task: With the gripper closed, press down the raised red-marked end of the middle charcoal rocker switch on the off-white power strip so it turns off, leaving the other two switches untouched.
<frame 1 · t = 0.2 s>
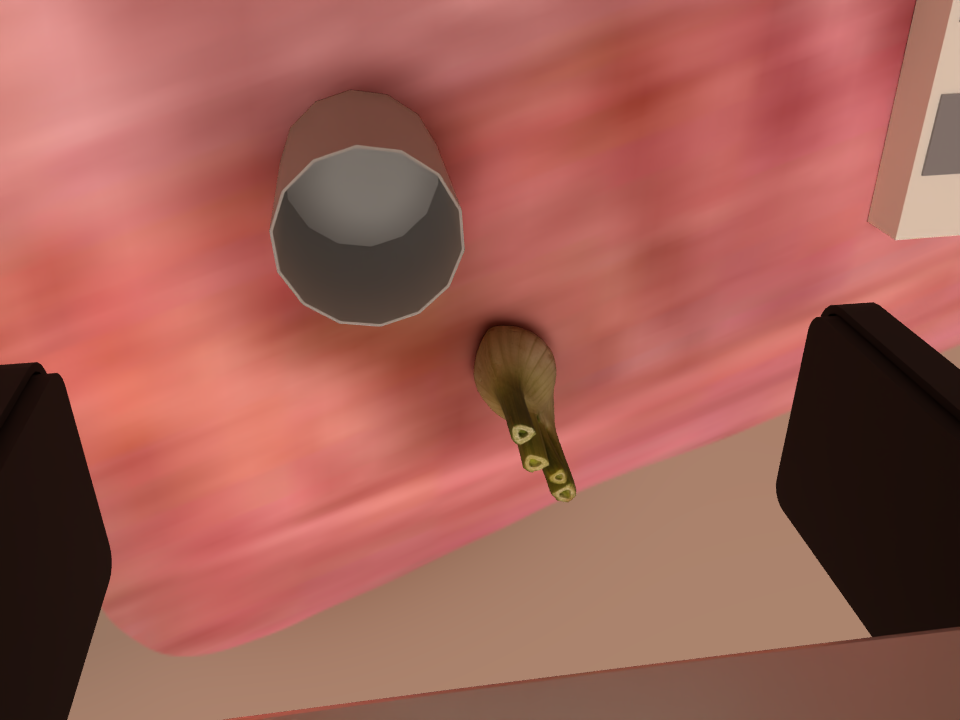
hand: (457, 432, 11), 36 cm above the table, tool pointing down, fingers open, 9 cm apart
fennel bulb: (507, 351, 53), on the table
cup: (361, 169, 46), on the table
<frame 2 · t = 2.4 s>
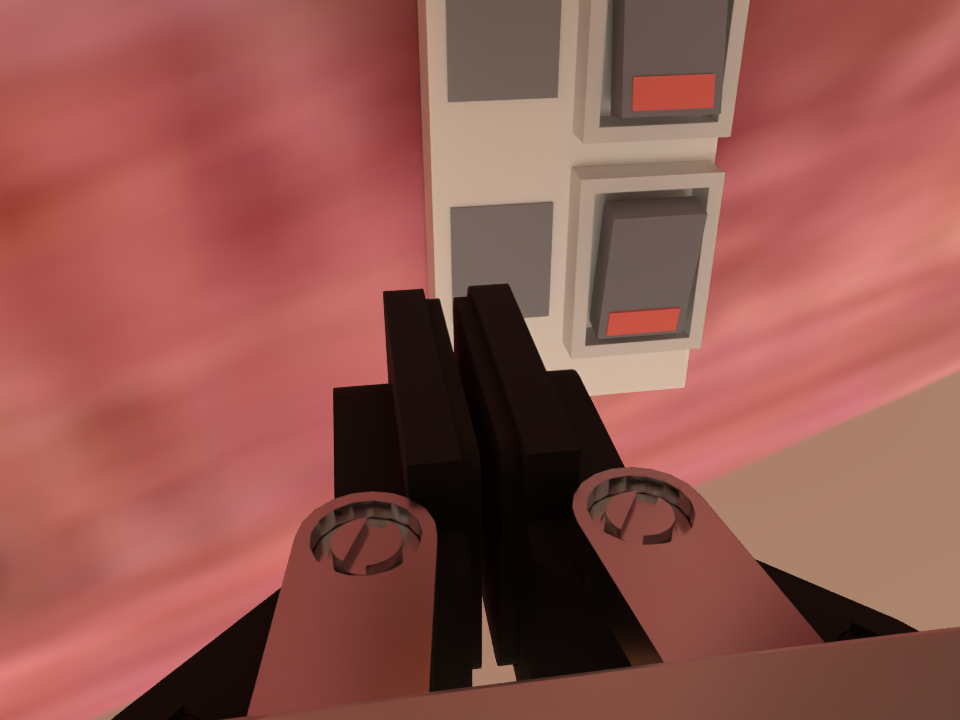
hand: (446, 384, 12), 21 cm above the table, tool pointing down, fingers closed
power strip: (561, 11, 30), on the table
rocker middle: (669, 30, 27), point 4 cm above the table, hinge at -10.0°
rocker 1: (645, 270, 31), point 4 cm above the table, hinge at 10.0°
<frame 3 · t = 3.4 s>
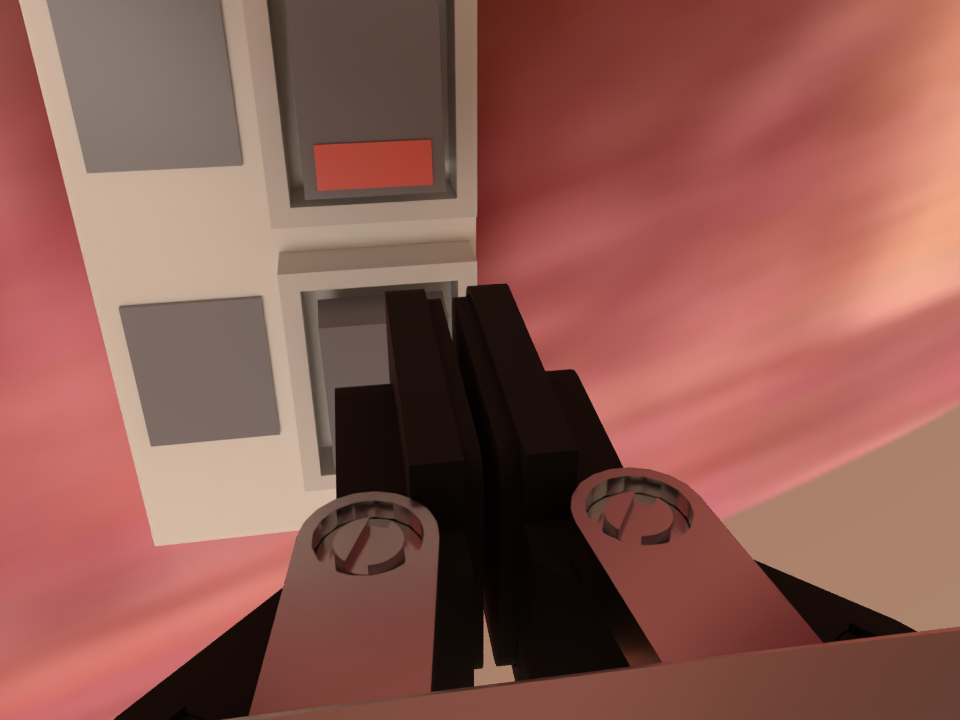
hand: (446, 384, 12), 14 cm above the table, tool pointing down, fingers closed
power strip: (269, 45, 23), on the table
rocker middle: (367, 79, 19), point 4 cm above the table, hinge at -10.0°
rocker 1: (386, 384, 23), point 4 cm above the table, hinge at 10.0°
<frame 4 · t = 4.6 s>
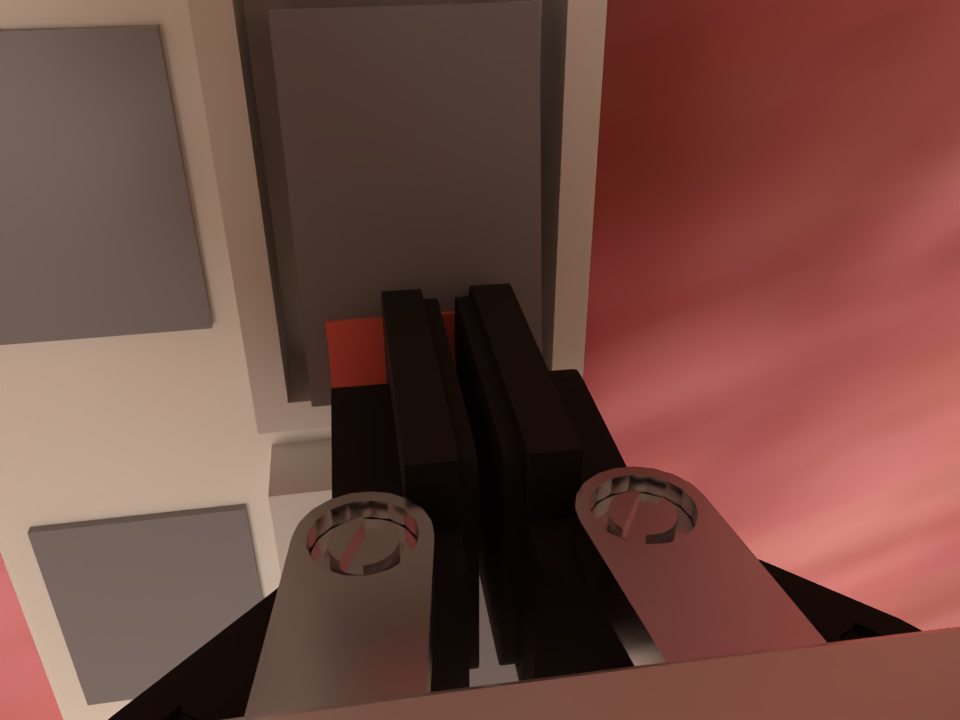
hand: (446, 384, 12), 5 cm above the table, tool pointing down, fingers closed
power strip: (256, 128, 15), on the table
rocker middle: (414, 208, 12), point 4 cm above the table, hinge at -9.4°, touching gripper
rocker 1: (433, 631, 16), point 4 cm above the table, hinge at 10.0°
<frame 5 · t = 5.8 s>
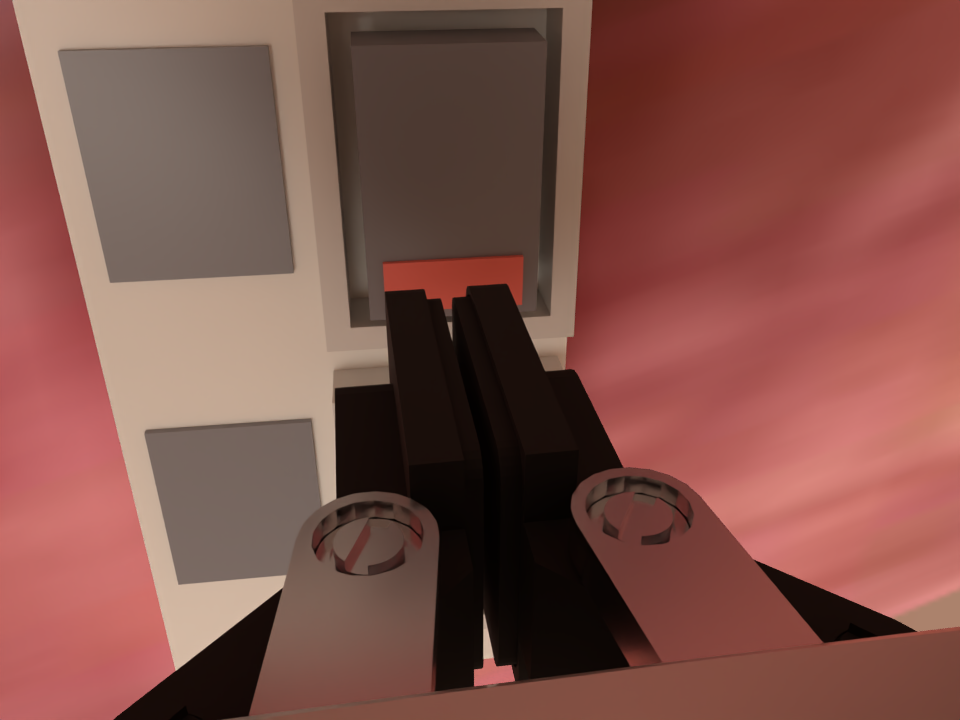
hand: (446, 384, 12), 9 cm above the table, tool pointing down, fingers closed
power strip: (327, 125, 19), on the table
rocker middle: (449, 180, 16), point 4 cm above the table, hinge at 2.3°
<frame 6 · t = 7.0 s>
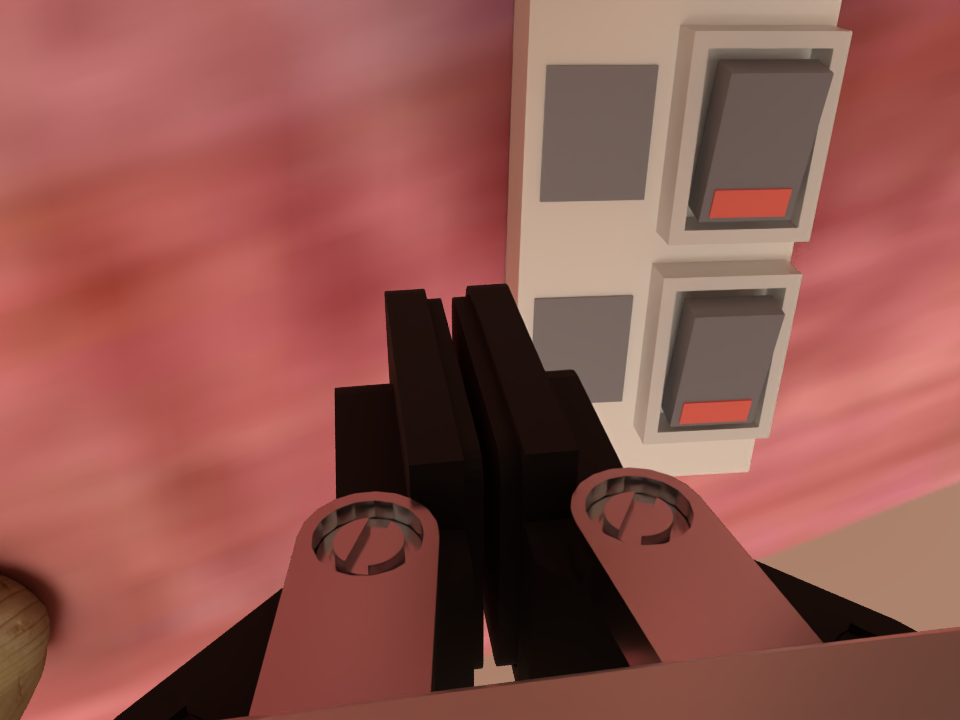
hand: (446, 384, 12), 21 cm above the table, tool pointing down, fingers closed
power strip: (647, 113, 31), on the table
fennel bulb: (3, 599, 38), on the table
rocker middle: (756, 143, 28), point 4 cm above the table, hinge at 10.7°
rocker 1: (719, 363, 32), point 4 cm above the table, hinge at 10.0°
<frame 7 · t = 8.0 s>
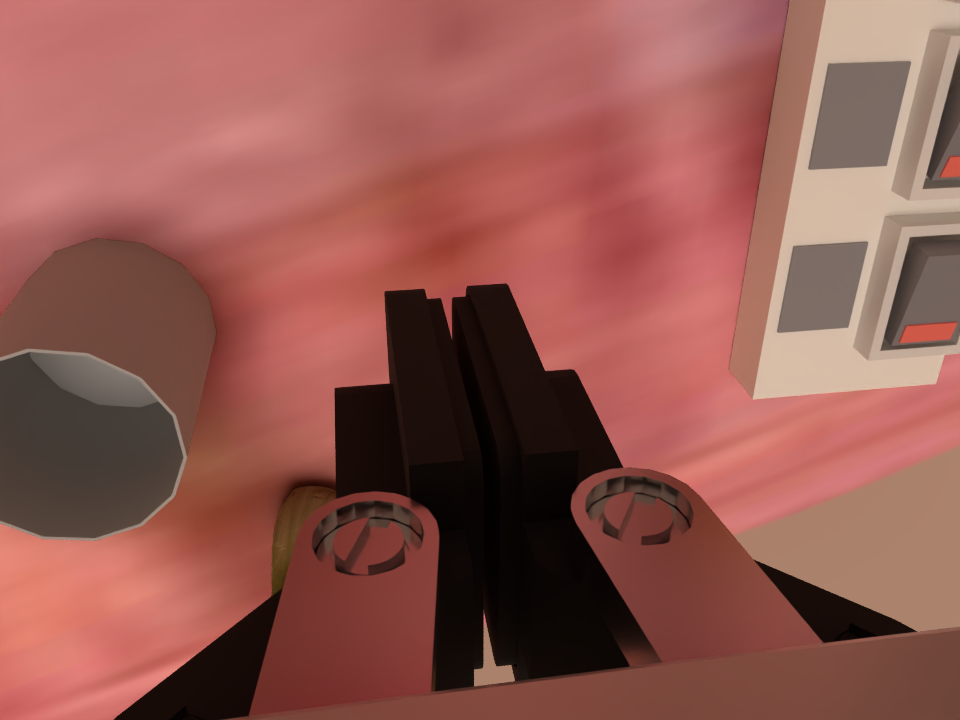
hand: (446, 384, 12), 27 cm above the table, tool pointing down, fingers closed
power strip: (875, 97, 40), on the table
fennel bulb: (321, 509, 47), on the table
rocker 1: (934, 293, 40), point 4 cm above the table, hinge at 10.0°
cup: (121, 322, 40), on the table
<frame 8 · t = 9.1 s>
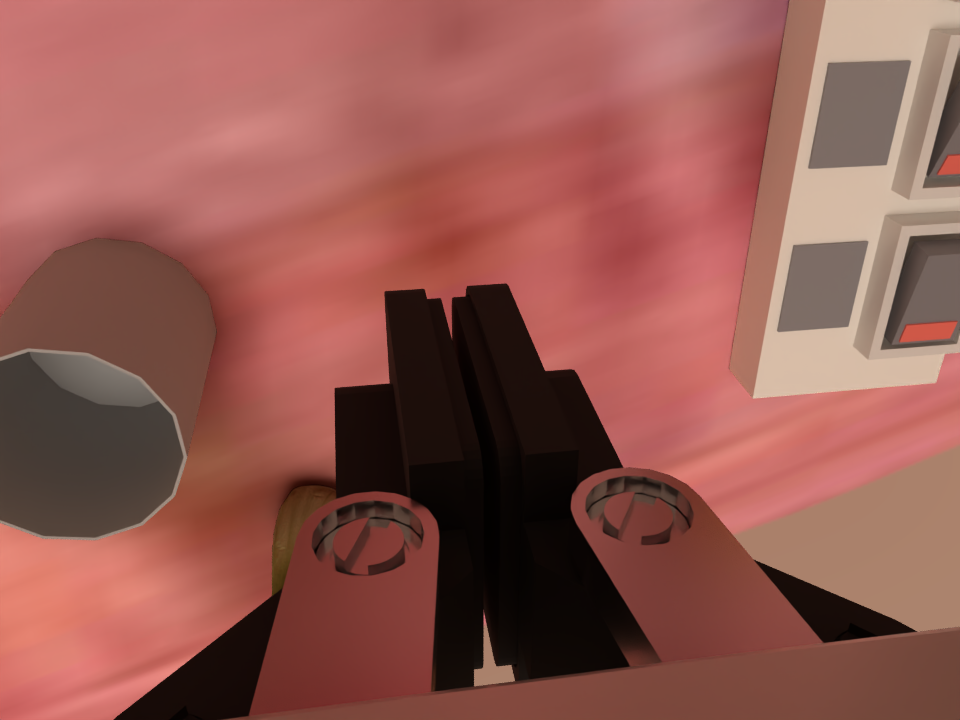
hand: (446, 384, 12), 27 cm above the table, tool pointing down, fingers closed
power strip: (875, 96, 40), on the table
fennel bulb: (322, 509, 47), on the table
rocker 1: (934, 292, 40), point 4 cm above the table, hinge at 10.0°
cup: (121, 322, 40), on the table
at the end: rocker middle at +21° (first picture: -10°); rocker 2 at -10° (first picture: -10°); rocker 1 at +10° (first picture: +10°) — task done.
